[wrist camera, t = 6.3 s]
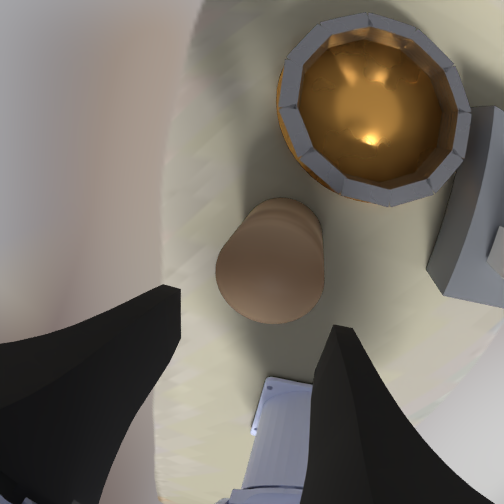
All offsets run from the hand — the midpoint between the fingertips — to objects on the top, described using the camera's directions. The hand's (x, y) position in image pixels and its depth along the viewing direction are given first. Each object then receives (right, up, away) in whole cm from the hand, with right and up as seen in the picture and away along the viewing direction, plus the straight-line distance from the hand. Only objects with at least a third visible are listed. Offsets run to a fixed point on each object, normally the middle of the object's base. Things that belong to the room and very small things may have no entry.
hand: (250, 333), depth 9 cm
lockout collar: (+6, +10, +4) cm, 12 cm away
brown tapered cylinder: (+2, +3, +8) cm, 8 cm away
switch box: (+14, +5, +4) cm, 15 cm away
